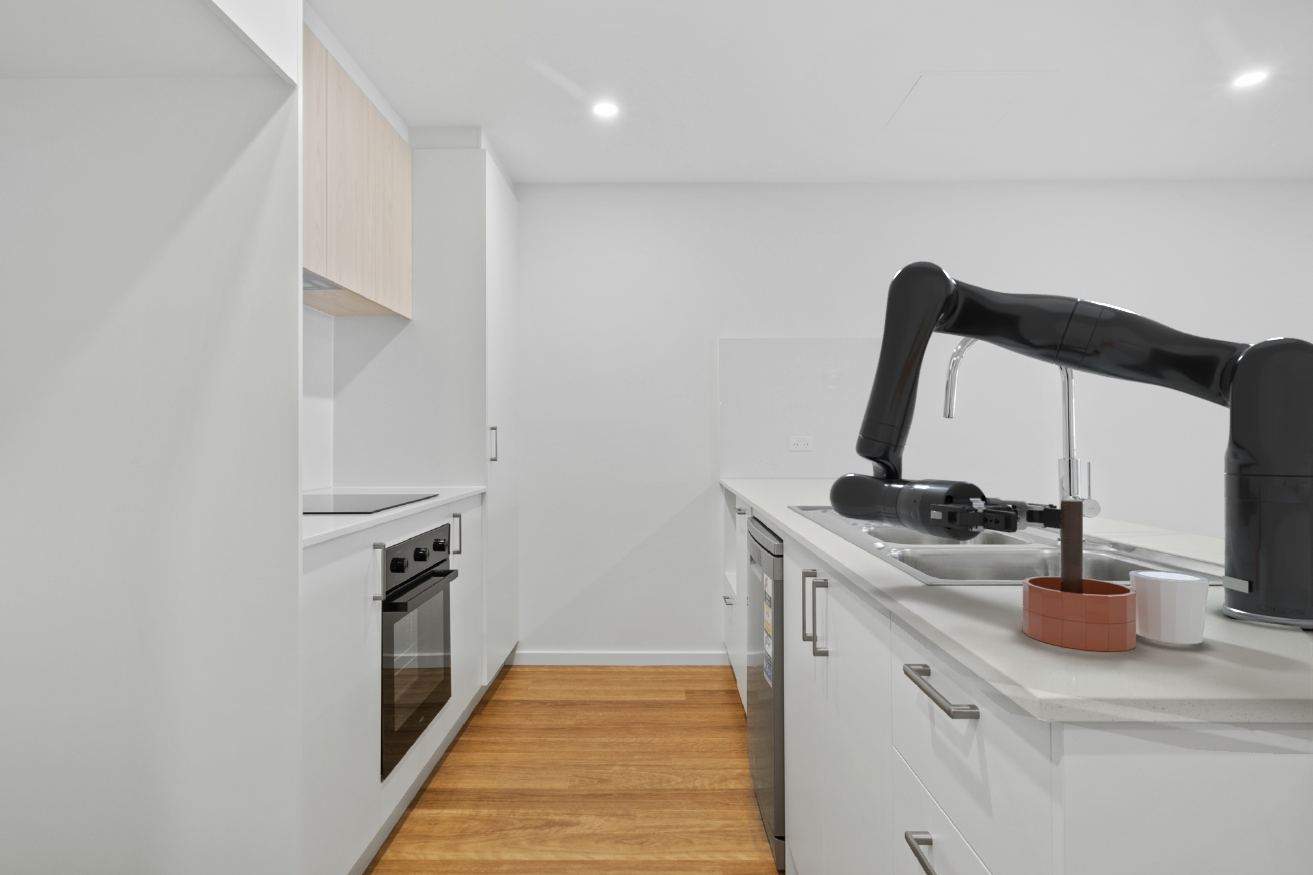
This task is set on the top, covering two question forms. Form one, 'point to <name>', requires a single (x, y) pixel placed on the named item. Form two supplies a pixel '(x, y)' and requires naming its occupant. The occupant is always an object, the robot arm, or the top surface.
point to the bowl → (1080, 614)
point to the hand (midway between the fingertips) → (1045, 521)
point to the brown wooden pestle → (1072, 546)
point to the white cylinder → (1170, 605)
